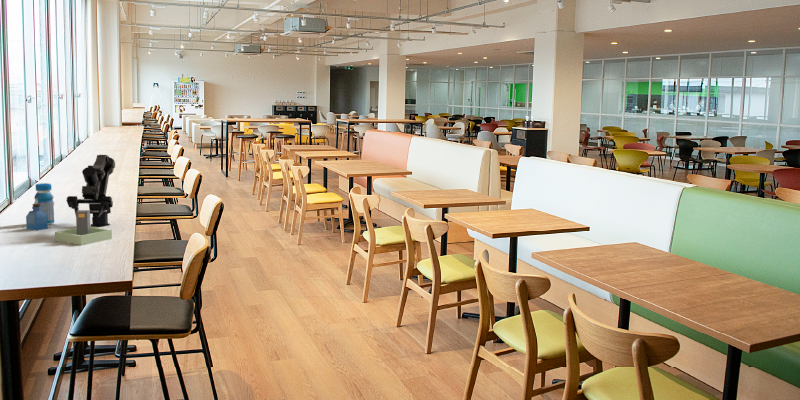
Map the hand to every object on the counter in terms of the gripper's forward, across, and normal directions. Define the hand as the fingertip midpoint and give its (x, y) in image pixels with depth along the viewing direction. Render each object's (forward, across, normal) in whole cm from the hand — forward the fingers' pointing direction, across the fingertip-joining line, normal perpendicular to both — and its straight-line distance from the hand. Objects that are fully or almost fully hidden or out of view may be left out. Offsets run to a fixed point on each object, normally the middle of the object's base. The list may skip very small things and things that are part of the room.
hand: (87, 216), depth 275 cm
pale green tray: (+12, 0, +1) cm, 12 cm away
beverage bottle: (-16, -26, +29) cm, 42 cm away
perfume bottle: (-6, -26, +20) cm, 33 cm away
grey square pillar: (+12, 0, 0) cm, 12 cm away
